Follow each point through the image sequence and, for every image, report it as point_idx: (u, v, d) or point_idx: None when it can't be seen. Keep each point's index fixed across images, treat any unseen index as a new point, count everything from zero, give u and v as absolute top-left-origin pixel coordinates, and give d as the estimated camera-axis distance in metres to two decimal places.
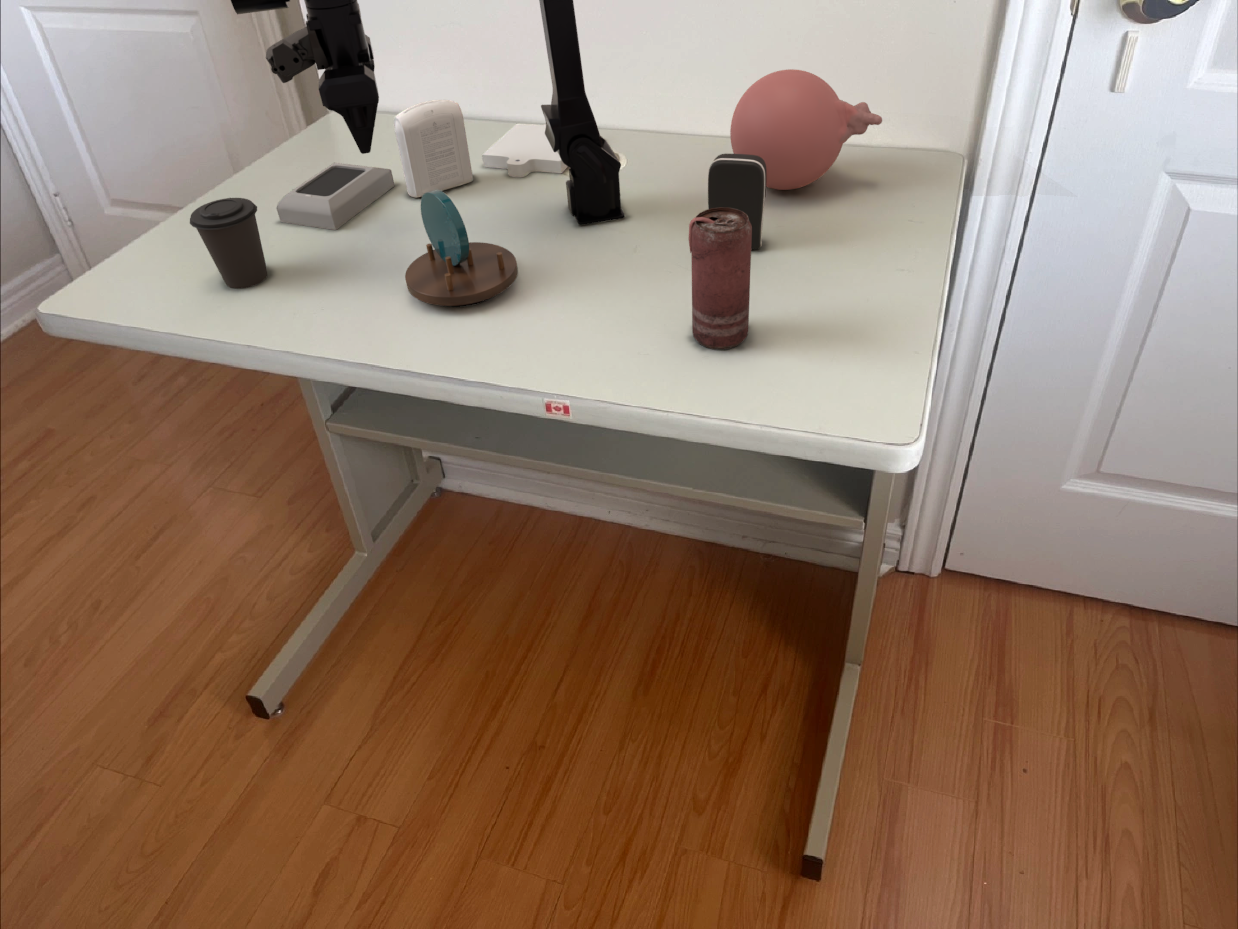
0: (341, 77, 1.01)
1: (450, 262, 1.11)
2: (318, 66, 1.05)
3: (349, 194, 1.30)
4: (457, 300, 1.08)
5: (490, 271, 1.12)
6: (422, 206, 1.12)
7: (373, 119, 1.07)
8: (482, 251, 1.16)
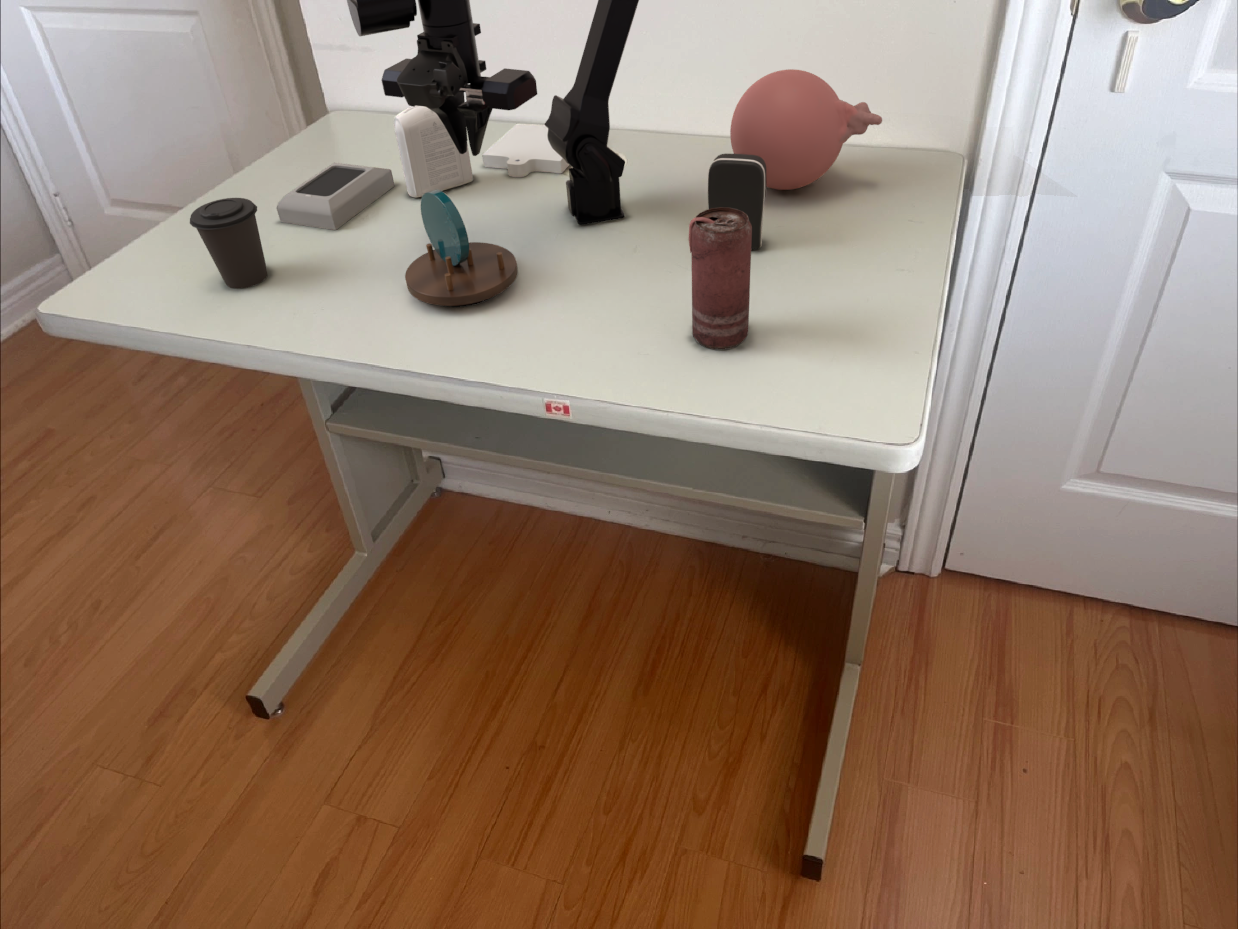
0: (517, 78, 1.05)
1: (450, 262, 1.11)
2: (462, 82, 1.06)
3: (349, 194, 1.30)
4: (457, 300, 1.08)
5: (490, 271, 1.12)
6: (422, 206, 1.12)
7: (489, 116, 1.13)
8: (482, 251, 1.16)
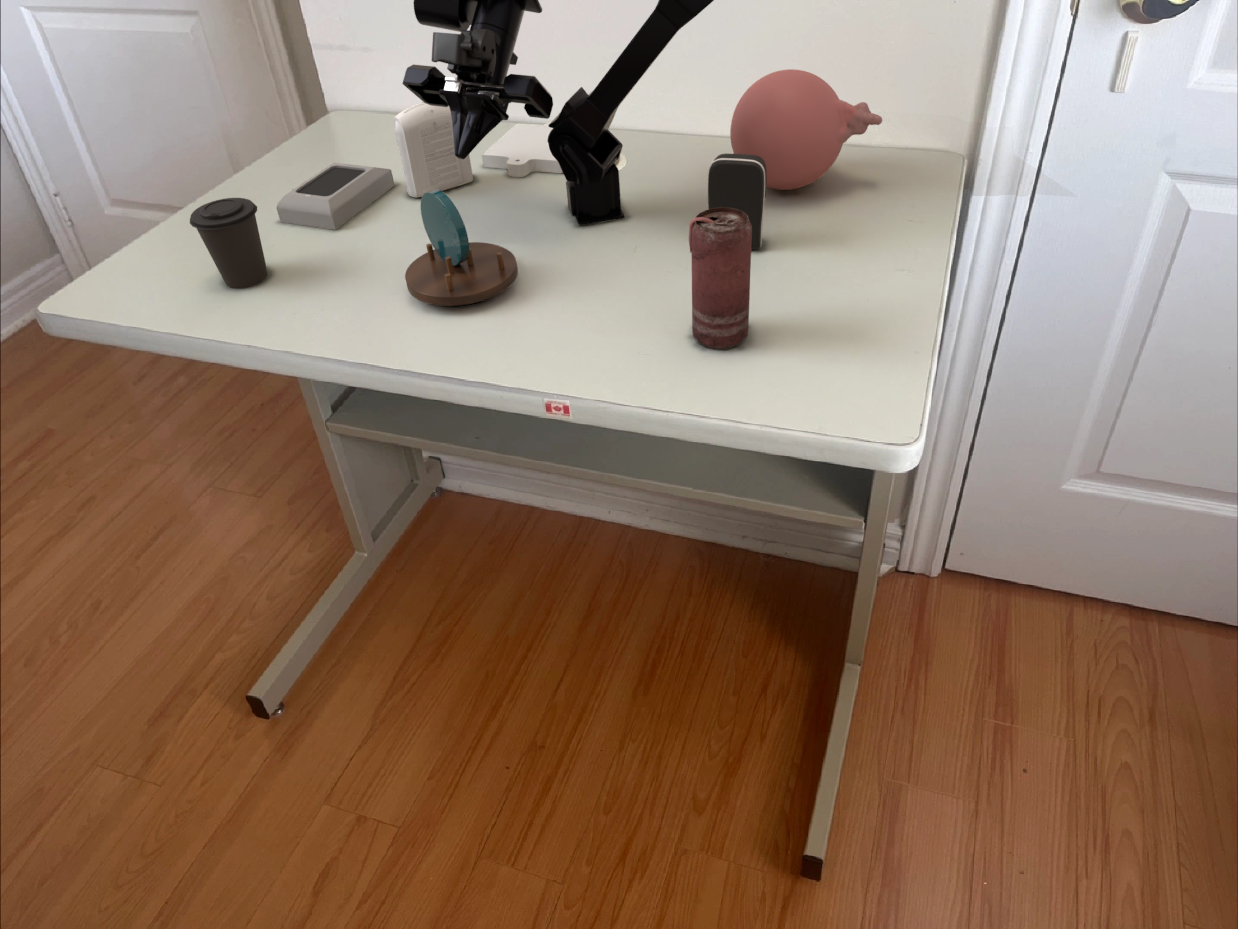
0: (540, 83, 1.10)
1: (450, 262, 1.11)
2: (488, 70, 1.10)
3: (349, 194, 1.30)
4: (457, 300, 1.08)
5: (490, 271, 1.12)
6: (422, 206, 1.12)
7: (487, 132, 1.15)
8: (482, 251, 1.16)
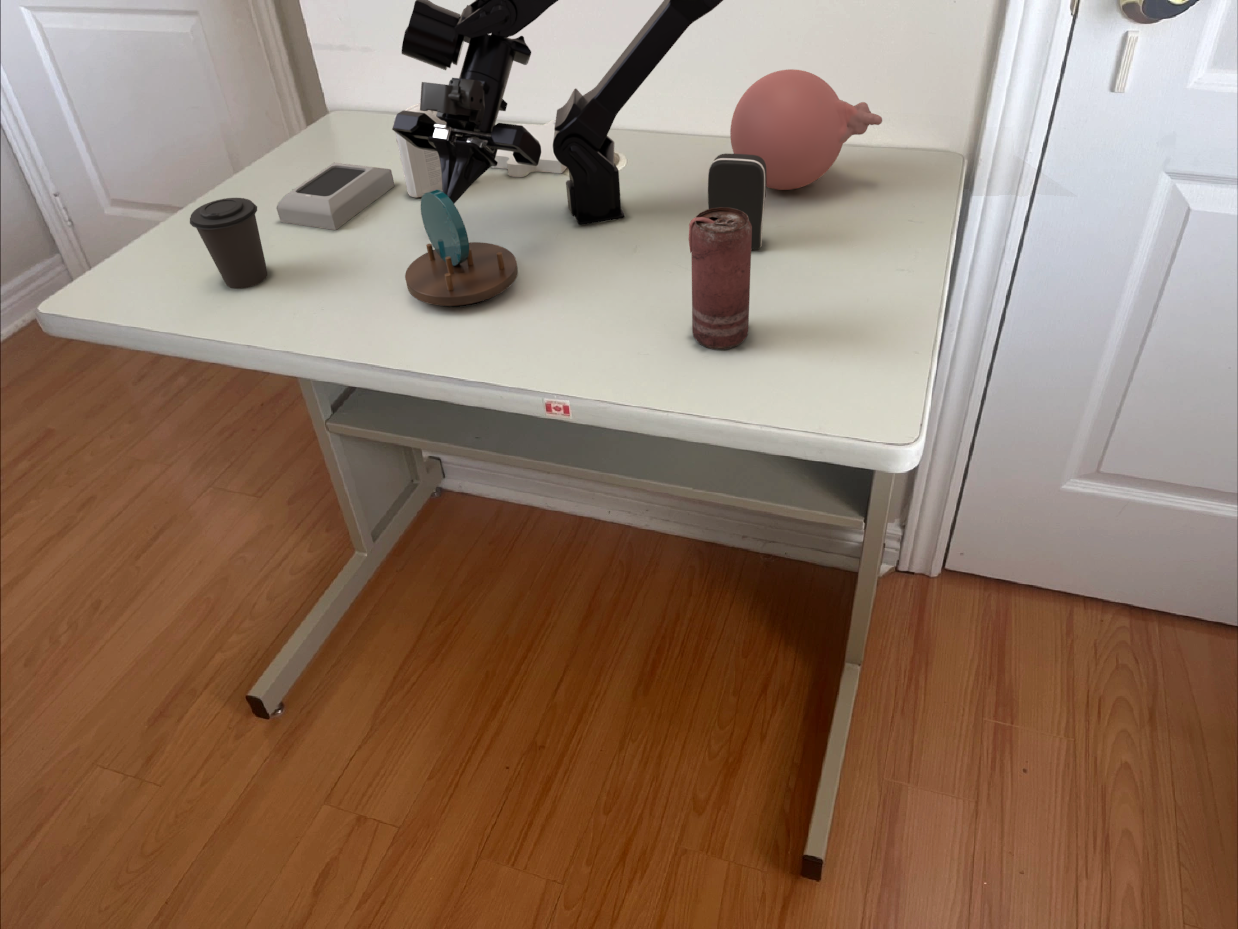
0: (528, 132, 1.11)
1: (450, 262, 1.11)
2: (477, 119, 1.11)
3: (349, 194, 1.30)
4: (457, 300, 1.08)
5: (490, 271, 1.12)
6: (422, 206, 1.12)
7: (476, 178, 1.15)
8: (482, 251, 1.16)
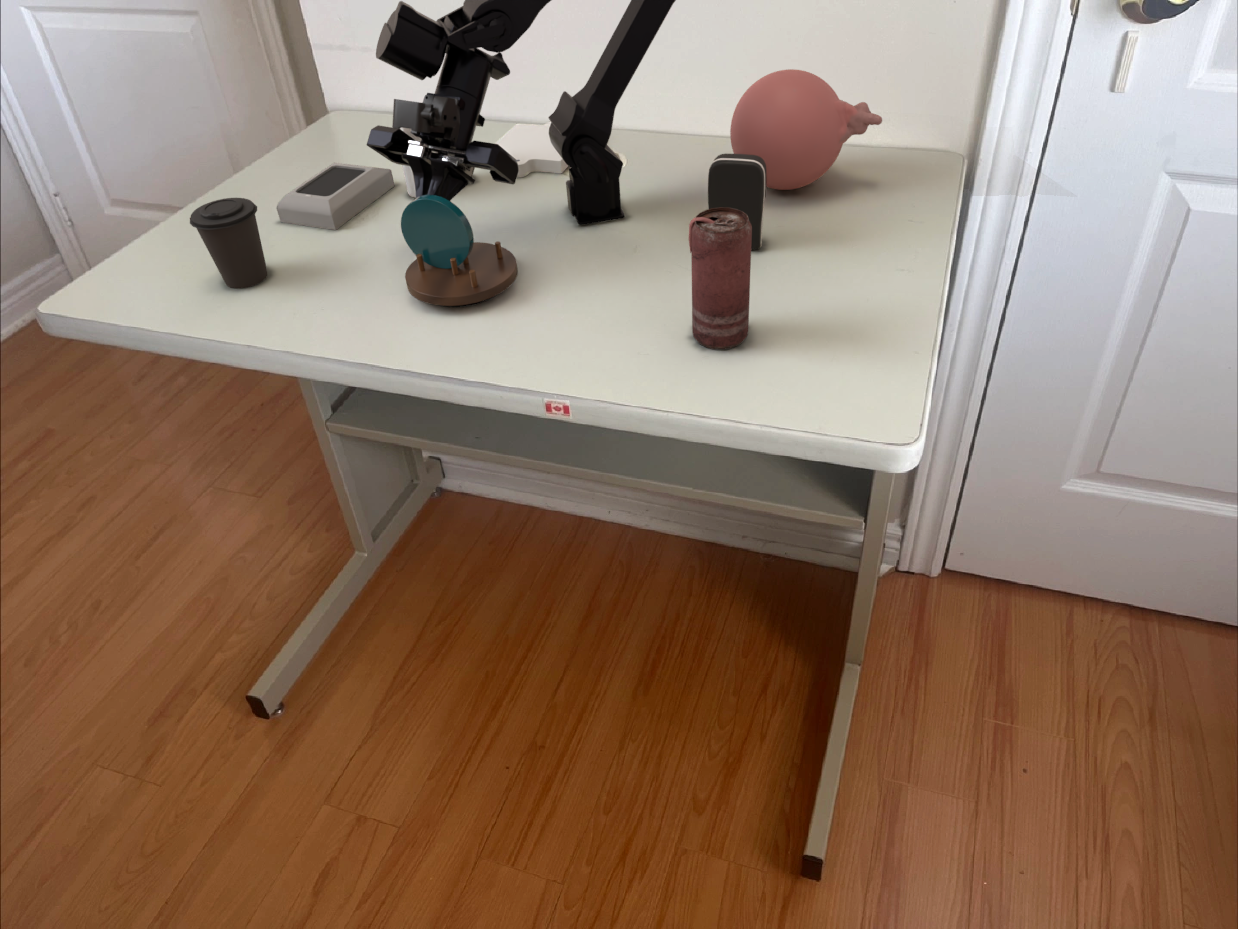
0: None
1: (456, 263, 1.11)
2: (451, 136, 1.07)
3: (349, 194, 1.30)
4: (489, 293, 1.09)
5: (492, 262, 1.13)
6: (405, 218, 1.10)
7: (452, 196, 1.12)
8: None
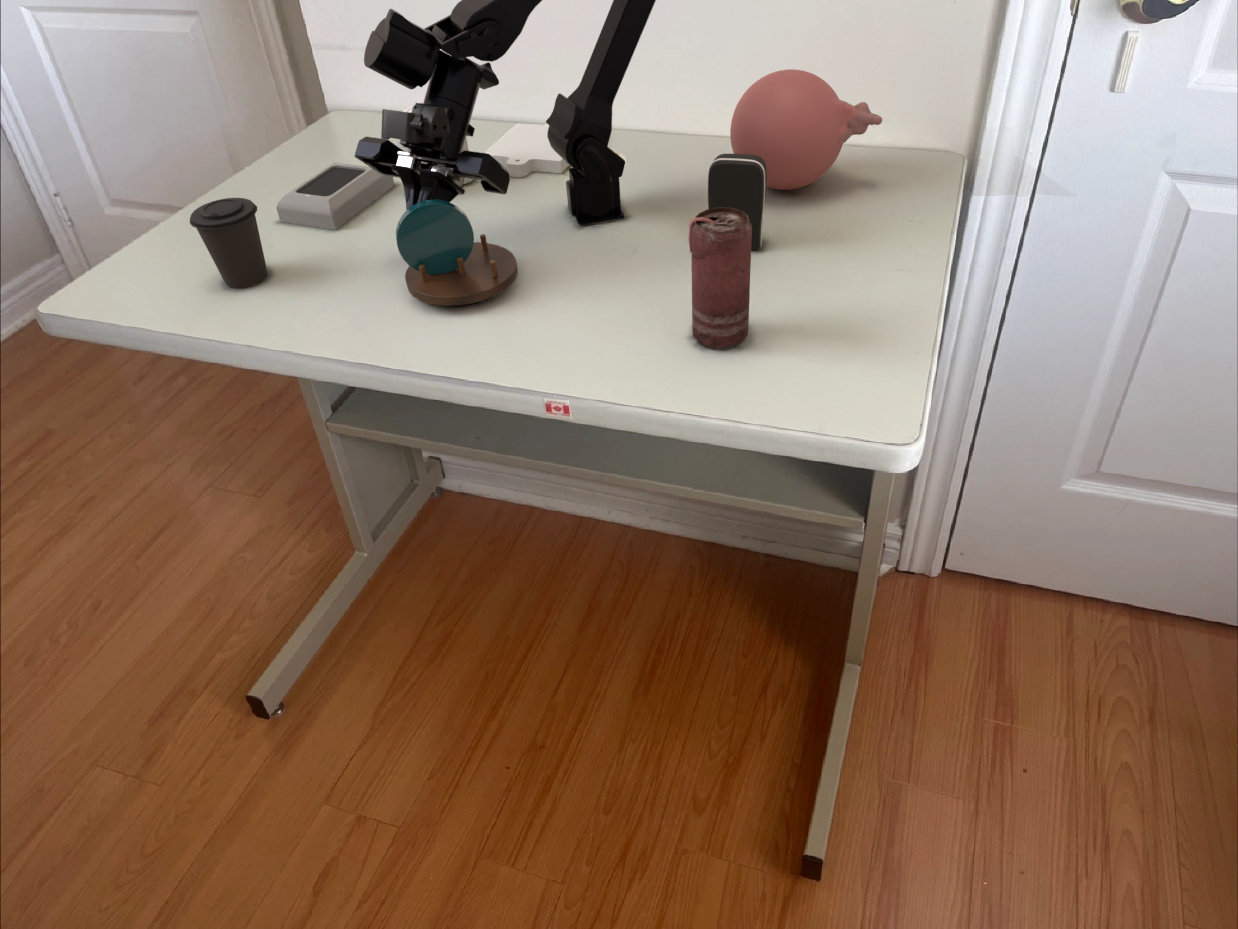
0: (496, 160, 1.06)
1: (463, 262, 1.11)
2: (441, 146, 1.06)
3: (349, 194, 1.30)
4: (512, 278, 1.11)
5: (484, 255, 1.15)
6: (401, 231, 1.07)
7: None
8: None
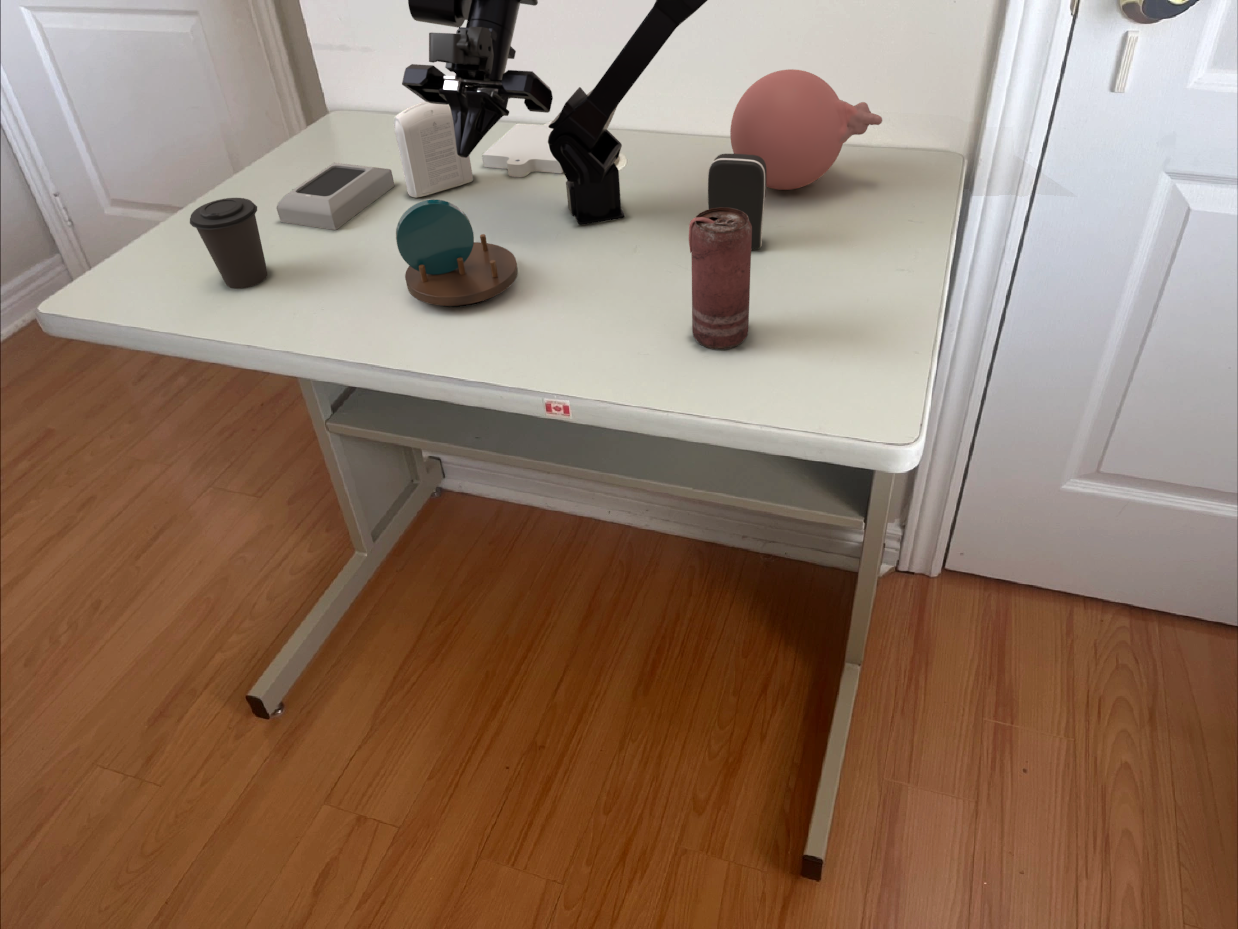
0: (539, 78, 1.10)
1: (463, 262, 1.11)
2: (486, 67, 1.10)
3: (349, 194, 1.30)
4: (512, 278, 1.11)
5: (484, 255, 1.15)
6: (401, 231, 1.07)
7: (488, 129, 1.15)
8: None
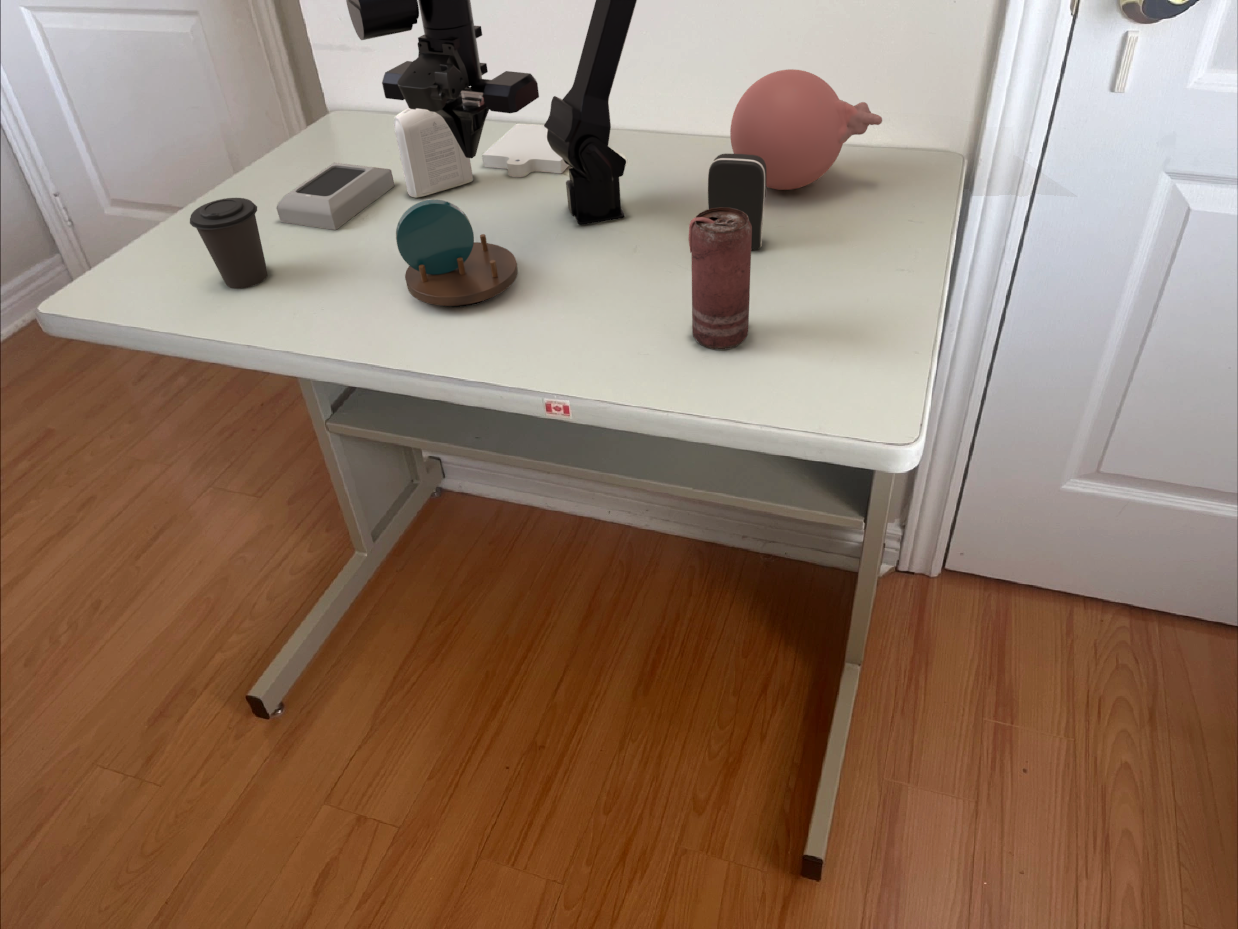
0: (518, 81, 1.05)
1: (463, 262, 1.11)
2: None
3: (349, 194, 1.30)
4: (512, 278, 1.11)
5: (484, 255, 1.15)
6: (401, 231, 1.07)
7: (485, 118, 1.12)
8: None
